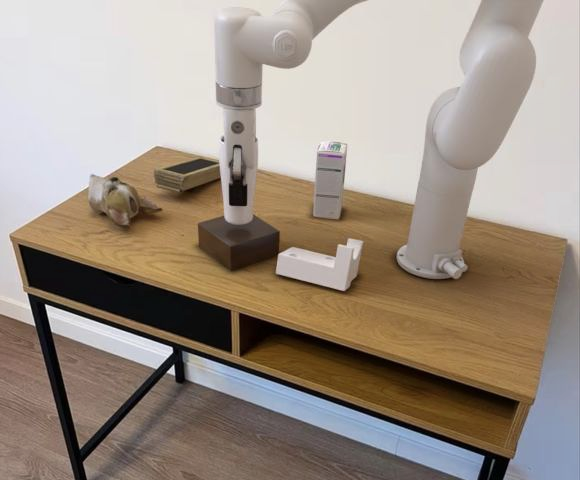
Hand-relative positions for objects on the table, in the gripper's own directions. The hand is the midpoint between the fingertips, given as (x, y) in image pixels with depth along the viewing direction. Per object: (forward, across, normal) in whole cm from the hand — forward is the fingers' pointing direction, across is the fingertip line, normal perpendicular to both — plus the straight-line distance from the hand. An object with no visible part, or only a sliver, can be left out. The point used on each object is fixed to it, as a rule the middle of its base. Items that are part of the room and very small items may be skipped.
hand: (238, 196), depth 114 cm
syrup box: (+11, +18, -18) cm, 28 cm away
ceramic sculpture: (+11, +12, +24) cm, 30 cm away
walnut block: (+11, 0, 0) cm, 11 cm away
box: (+11, +31, +11) cm, 35 cm away
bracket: (+11, -8, -15) cm, 20 cm away
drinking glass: (+5, 0, 0) cm, 5 cm away
